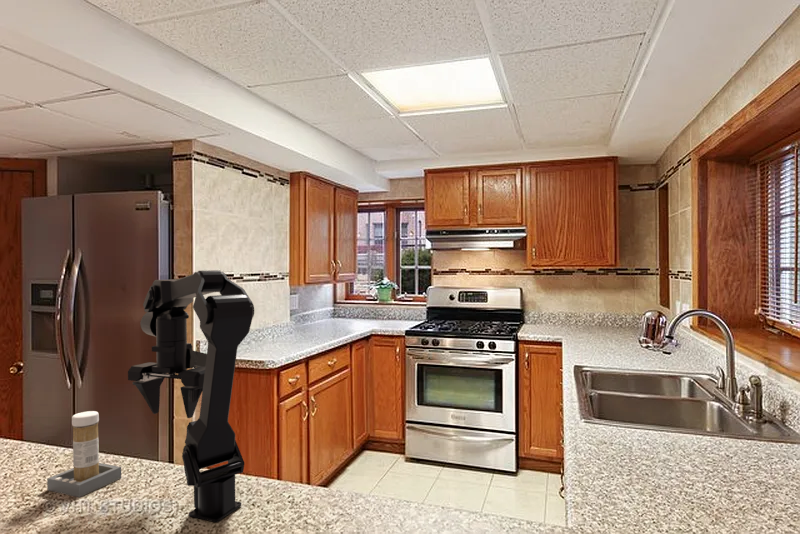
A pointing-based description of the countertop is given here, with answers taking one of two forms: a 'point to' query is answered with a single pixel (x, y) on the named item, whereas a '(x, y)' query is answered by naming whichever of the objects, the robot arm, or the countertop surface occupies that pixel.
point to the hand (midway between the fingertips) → (172, 415)
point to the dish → (71, 487)
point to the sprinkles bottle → (85, 445)
